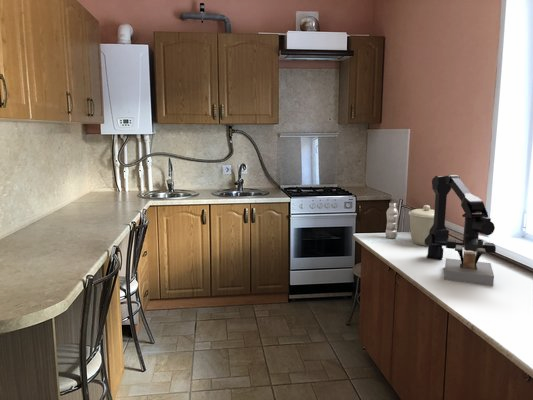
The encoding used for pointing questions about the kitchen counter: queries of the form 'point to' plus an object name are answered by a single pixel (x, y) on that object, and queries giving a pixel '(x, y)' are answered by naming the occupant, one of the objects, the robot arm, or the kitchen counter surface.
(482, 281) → the well block
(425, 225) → the canister
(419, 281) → the kitchen counter surface
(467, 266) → the walnut post
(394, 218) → the plastic bottle
